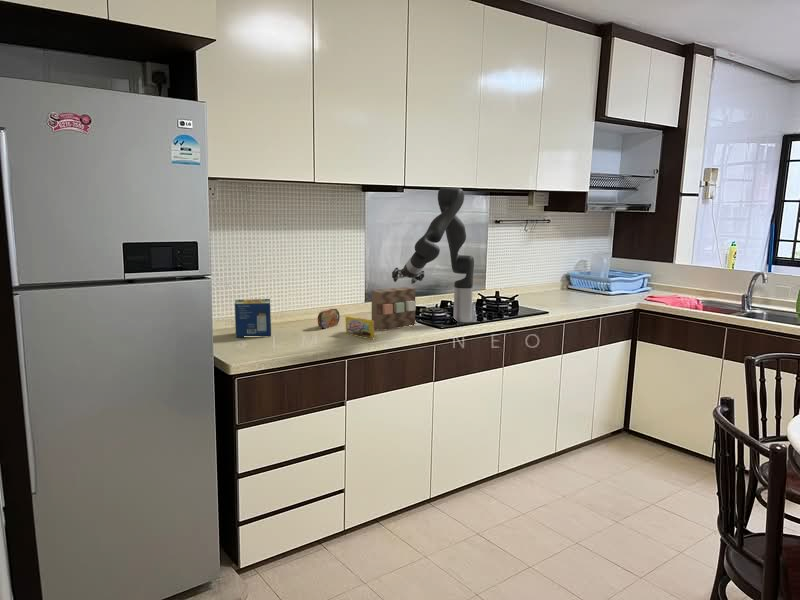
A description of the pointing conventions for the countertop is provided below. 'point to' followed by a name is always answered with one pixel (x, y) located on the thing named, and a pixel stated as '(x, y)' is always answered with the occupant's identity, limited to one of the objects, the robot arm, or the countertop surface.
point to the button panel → (396, 318)
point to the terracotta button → (387, 308)
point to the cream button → (410, 305)
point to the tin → (328, 318)
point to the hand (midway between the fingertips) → (403, 281)
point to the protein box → (253, 317)
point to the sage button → (398, 307)
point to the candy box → (360, 327)
